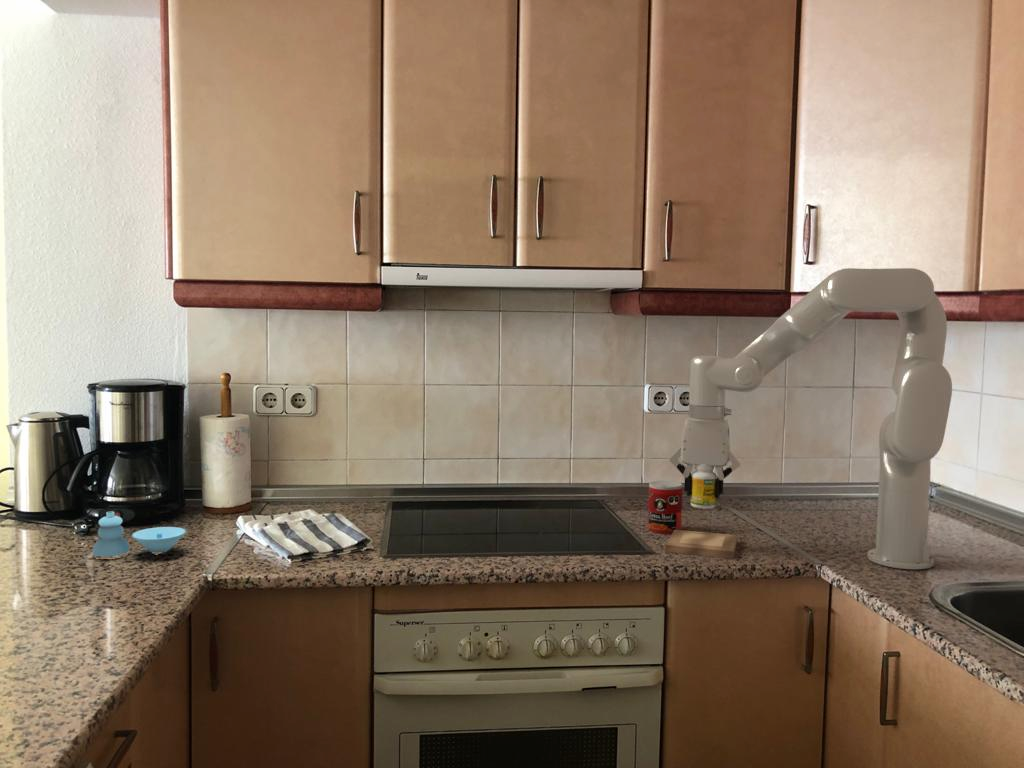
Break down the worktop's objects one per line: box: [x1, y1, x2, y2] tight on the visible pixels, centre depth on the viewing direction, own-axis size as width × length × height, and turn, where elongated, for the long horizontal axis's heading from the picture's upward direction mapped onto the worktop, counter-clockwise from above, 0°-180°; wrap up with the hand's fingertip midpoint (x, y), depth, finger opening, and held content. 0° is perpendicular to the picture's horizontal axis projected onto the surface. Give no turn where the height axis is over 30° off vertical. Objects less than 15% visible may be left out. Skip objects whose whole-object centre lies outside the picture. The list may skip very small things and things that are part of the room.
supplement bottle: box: [690, 464, 718, 510], centre depth 189 cm, size 5×5×10 cm
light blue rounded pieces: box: [92, 511, 187, 557], centre depth 179 cm, size 18×10×9 cm, turn 100°
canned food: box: [647, 480, 683, 535], centre depth 204 cm, size 8×8×11 cm
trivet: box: [665, 529, 739, 559], centre depth 190 cm, size 14×14×2 cm
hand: (703, 495), depth 189 cm, fingers closed on supplement bottle, 5 cm apart
